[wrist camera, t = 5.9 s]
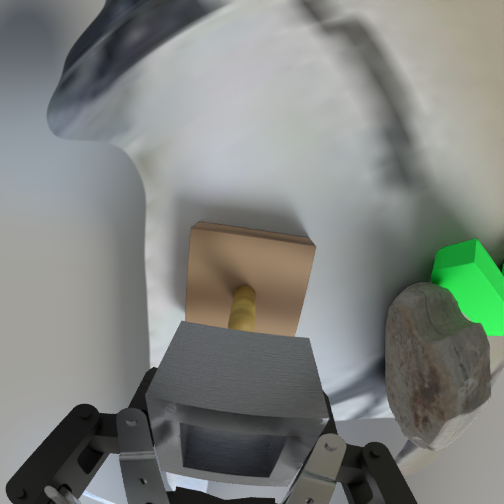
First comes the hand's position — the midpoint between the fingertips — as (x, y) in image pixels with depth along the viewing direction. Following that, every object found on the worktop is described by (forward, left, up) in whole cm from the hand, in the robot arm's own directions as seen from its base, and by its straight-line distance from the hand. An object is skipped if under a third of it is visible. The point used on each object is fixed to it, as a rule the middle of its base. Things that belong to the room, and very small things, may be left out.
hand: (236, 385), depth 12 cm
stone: (+6, +20, -14) cm, 25 cm away
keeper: (0, 0, -14) cm, 14 cm away
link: (0, 0, -1) cm, 1 cm away
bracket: (-5, +29, -14) cm, 32 cm away
